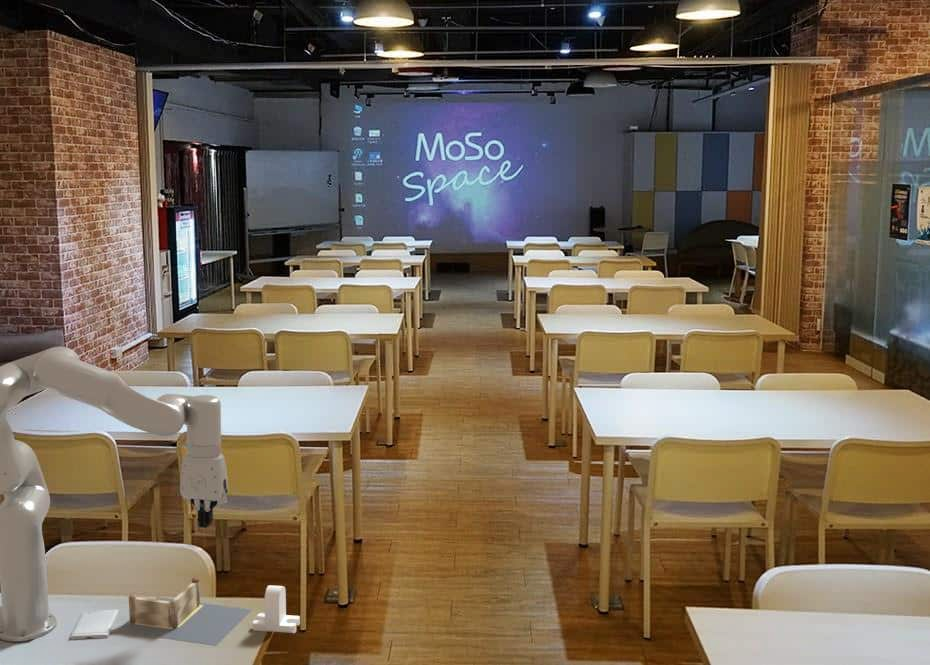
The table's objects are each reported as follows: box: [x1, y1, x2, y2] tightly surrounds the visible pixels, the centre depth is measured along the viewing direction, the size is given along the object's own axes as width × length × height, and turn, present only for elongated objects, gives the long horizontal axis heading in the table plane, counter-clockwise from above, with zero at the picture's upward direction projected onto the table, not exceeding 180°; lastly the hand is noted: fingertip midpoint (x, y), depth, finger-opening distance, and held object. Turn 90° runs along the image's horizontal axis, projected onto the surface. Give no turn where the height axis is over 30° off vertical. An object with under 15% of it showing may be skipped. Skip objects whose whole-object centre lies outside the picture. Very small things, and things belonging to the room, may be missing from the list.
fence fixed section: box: [128, 593, 171, 628], centre depth 222 cm, size 10×2×6 cm, turn 77°
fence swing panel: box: [170, 576, 201, 628], centre depth 226 cm, size 13×2×7 cm, turn 170°
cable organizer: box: [252, 584, 301, 634], centre depth 222 cm, size 5×10×10 cm, turn 84°
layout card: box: [115, 596, 253, 646], centre depth 224 cm, size 25×18×1 cm
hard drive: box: [69, 609, 120, 640], centre depth 221 cm, size 2×8×12 cm
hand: (205, 525), depth 224 cm, fingers closed
